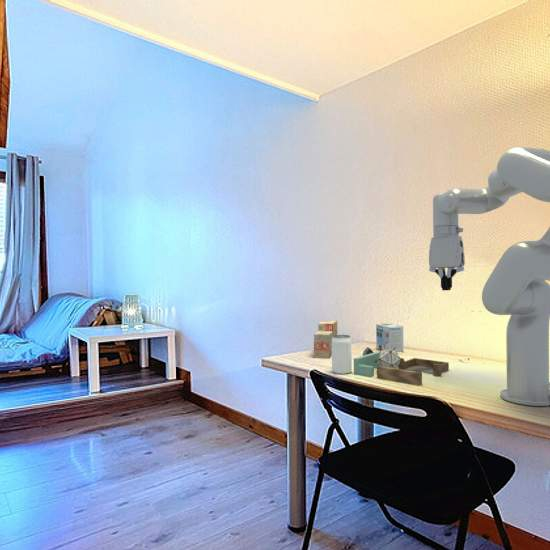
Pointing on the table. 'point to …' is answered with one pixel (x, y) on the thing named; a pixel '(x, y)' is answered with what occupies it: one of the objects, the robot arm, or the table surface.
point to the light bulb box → (389, 337)
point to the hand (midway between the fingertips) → (446, 290)
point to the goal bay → (366, 364)
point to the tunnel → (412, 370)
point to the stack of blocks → (324, 339)
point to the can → (341, 354)
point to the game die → (388, 358)
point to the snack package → (367, 351)
